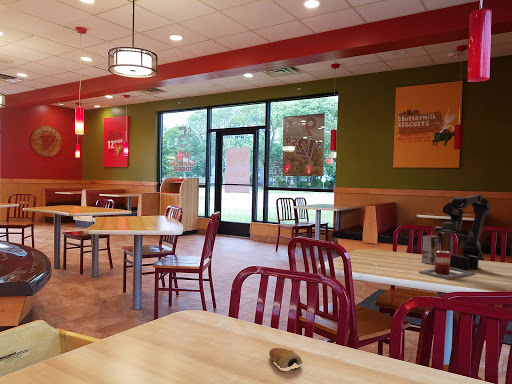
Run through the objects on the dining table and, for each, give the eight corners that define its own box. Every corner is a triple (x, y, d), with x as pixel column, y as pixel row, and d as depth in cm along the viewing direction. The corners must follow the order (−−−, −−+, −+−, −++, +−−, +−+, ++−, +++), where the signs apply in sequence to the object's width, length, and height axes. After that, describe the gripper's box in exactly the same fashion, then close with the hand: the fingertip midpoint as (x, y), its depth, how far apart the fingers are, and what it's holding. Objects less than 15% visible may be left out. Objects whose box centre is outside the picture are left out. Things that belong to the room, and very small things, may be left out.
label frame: (445, 267, 219) (445, 266, 219) (474, 274, 205) (474, 272, 205) (419, 272, 204) (419, 271, 204) (448, 279, 191) (448, 278, 191)
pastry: (262, 358, 100) (263, 343, 100) (283, 353, 103) (284, 339, 103) (282, 374, 92) (283, 358, 92) (305, 368, 95) (305, 353, 95)
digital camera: (471, 269, 217) (472, 257, 217) (466, 270, 214) (466, 258, 214) (454, 265, 226) (454, 254, 225) (448, 266, 223) (449, 254, 223)
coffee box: (431, 264, 227) (433, 237, 227) (421, 262, 232) (422, 235, 232) (439, 262, 233) (440, 236, 233) (428, 260, 238) (430, 234, 238)
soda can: (451, 276, 198) (452, 253, 197) (436, 275, 199) (437, 252, 199) (447, 273, 205) (448, 250, 204) (432, 272, 206) (433, 249, 206)
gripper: (432, 213, 210) (425, 241, 208) (466, 217, 195) (460, 246, 193) (442, 219, 217) (436, 246, 214) (476, 223, 201) (470, 251, 199)
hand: (449, 247), depth 205 cm, fingers open, 9 cm apart
